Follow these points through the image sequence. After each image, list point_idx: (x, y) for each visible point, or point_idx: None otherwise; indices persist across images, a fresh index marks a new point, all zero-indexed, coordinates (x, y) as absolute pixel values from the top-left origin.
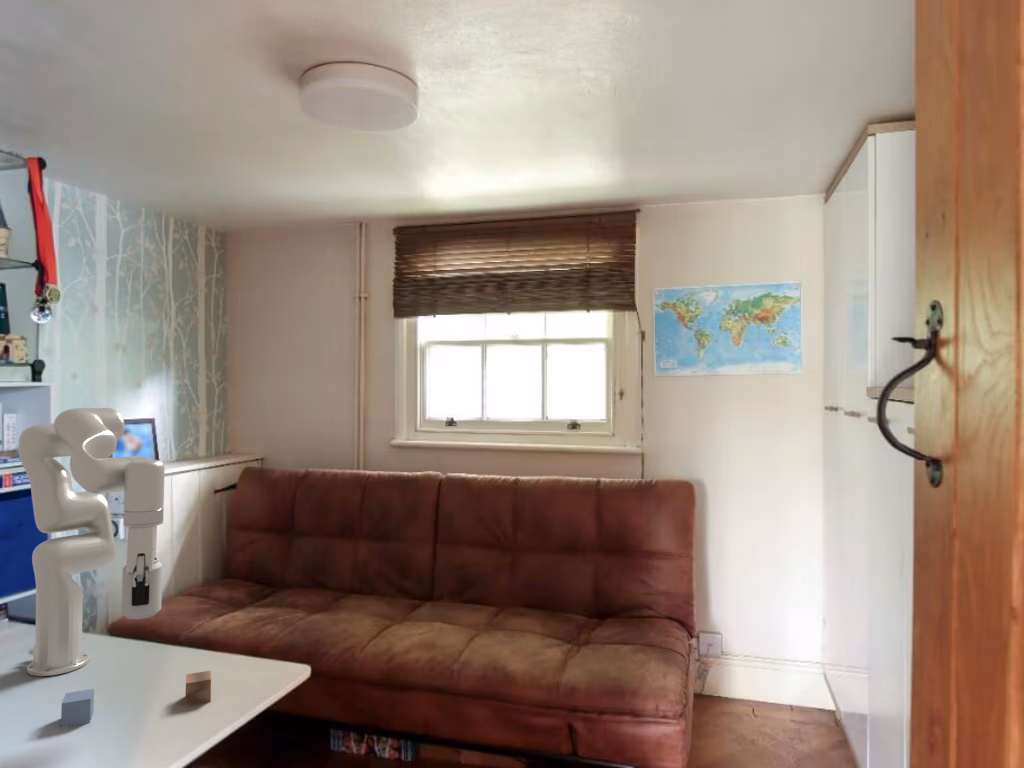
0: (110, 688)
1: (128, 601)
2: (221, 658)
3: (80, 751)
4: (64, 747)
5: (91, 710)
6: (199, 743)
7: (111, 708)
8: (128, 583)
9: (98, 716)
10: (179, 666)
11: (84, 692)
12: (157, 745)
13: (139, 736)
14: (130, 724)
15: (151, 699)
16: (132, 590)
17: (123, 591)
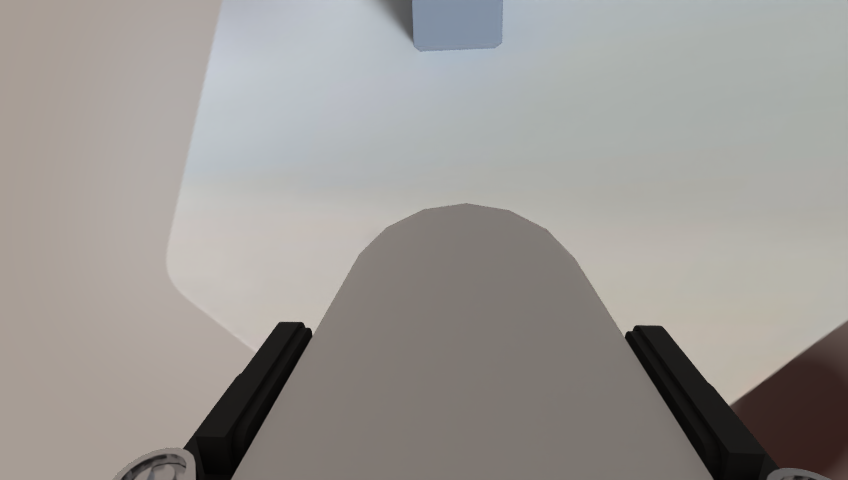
0: (663, 74)
1: (331, 303)
2: (725, 377)
3: (250, 56)
4: (285, 6)
5: (446, 48)
6: (219, 317)
7: (496, 99)
8: (272, 418)
9: (454, 69)
10: (733, 269)
11: (479, 13)
12: (233, 235)
13: (291, 192)
14: (367, 164)
15: (510, 205)
16: (220, 411)
17: (375, 298)
